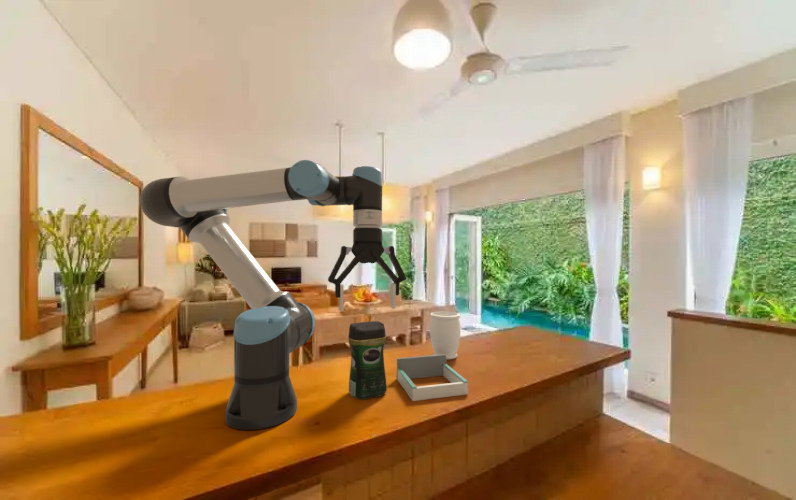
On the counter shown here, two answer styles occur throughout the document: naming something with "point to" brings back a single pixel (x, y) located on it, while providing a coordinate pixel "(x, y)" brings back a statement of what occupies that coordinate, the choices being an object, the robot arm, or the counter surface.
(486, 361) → the counter surface
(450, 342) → the jar
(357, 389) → the coffee jar
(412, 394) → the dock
